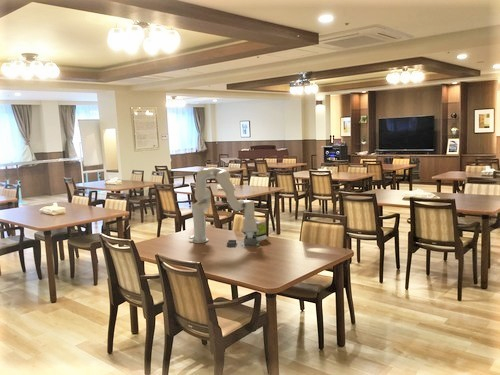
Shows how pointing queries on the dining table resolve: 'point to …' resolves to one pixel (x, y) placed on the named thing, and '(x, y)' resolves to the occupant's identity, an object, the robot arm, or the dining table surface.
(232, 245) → the holster
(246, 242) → the port
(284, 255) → the dining table surface
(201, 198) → the robot arm
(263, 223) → the tea box
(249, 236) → the plug
